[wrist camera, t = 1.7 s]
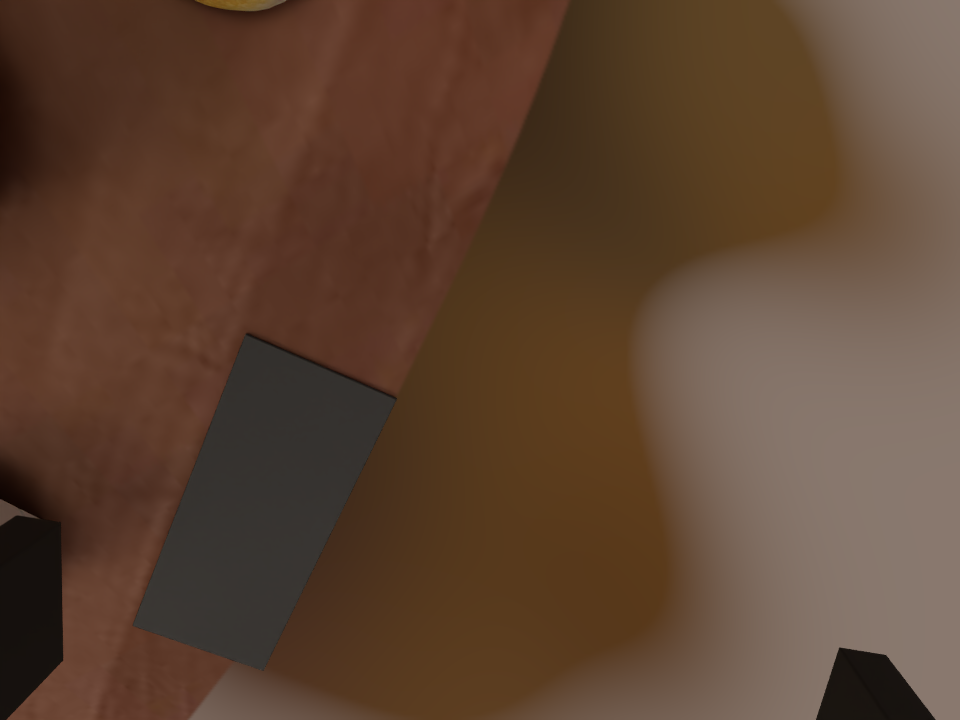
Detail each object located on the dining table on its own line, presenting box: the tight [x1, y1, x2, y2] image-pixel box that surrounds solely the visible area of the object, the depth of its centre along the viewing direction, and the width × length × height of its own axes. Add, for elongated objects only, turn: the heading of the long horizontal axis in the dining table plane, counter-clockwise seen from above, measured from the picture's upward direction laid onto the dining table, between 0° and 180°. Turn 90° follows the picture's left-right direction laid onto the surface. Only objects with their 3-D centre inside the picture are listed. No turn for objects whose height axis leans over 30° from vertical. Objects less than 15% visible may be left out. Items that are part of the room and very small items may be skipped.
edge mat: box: [133, 334, 397, 671], centre depth 38 cm, size 20×8×1 cm, turn 154°
